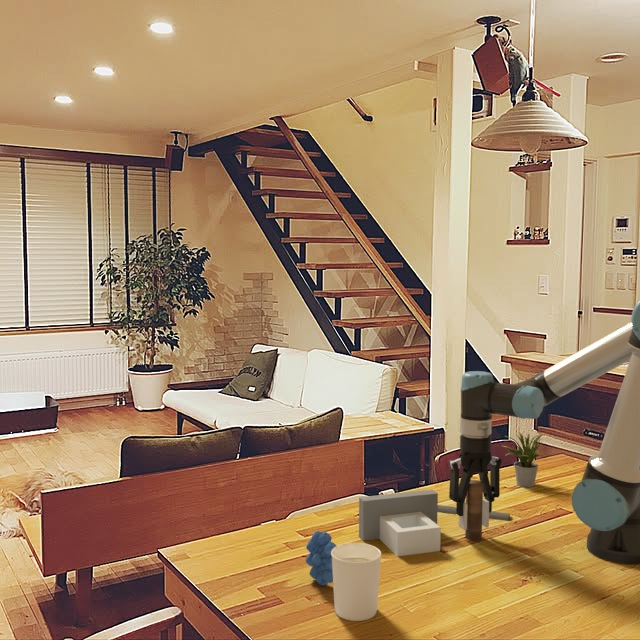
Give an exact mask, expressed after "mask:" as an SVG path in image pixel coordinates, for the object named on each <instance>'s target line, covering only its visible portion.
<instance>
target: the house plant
mask: <svg viewBox="0 0 640 640" xmlns="http://www.w3.org/2000/svg"><path fill="white" fill-rule="evenodd" d="M518 434H519V435H518ZM518 434H516V436H517V438H518V440H519V441H520V443H521V445H522V447H521V446H520V444H519V442H517V441H516V440H515V439H514V438H512V437H510V436H507V435H505V437H506V438H509V439H510V440H511V443H513V444H514V445H515V446H516V447H517V449H515V448H514V447H513V448H512V447H511V446H507V445H500V447H502V448H503V449H504V450H506V451H508V452H507V453H505V455H504V457H506V456H510V455H513V456H514V457H516V458H517V459H518V461H515V462H514V463H513V466H514V473H515V480H516V485H517V486H519V487H523V488H533V487H534V486H535V483H536V478H537V473H538V468H539V464H537V463H535V462H533V461H534V460H535V459H536V458H538V457H540V456H541V457H542V456H544V457H546V454H545V455H544V454H538V453H541V452H540V451H539V450H538V449H539V447H540V446H542V445H543V444H542V443H543V441H542V442H541V440H542V436H544V435H545V433H541V434H539V435H535V436H533V437H532V439H531V440H530V433H528V434H527V437H526V436H523V433H521V431H518ZM540 442H541V443H540Z"/></svg>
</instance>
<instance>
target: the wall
mask: <svg viewBox="0 0 640 640" xmlns="http://www.w3.org/2000/svg"><path fill="white" fill-rule="evenodd" d="M438 496H439V492H436V491H435V490H433V489H428V490H416V491H408V492H398V493H397V492H396V493H388V494H378V495H369V496H360V497H358V537H359V538H360V539H361V541H363V542H365V541H372V540H373V541H374V540H380V516H387V515H396V514H405V513H414V512H422V513H423V514H424V515H426V516H427V517H428V518H429V519H431V520H432V521H433V522H434V523H436V524H437V525H438V512H437V510H438V505H439V503H438V502H439V499H438V498H439V497H438Z"/></svg>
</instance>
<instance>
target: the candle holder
mask: <svg viewBox="0 0 640 640" xmlns="http://www.w3.org/2000/svg"><path fill="white" fill-rule="evenodd" d="M331 556H332V572H333V582H332V587H333V602H334V603H333V604H334V611H335V612H334V613H335V614H336V615H337V616H338V617H339V618H341V619H343V620H345V621H352V622H360V621H367V620H370V619H372V618H374V617H375V616H376V615H377V612H378V604H379V601H378V600H379V587H380V573H381V559H382V551H381V550H380V548H378V547H376V546H374V545H372V544H369V543H364V542H346V543H342V544H338V545H336V547H335V548H333V549H332V551H331Z"/></svg>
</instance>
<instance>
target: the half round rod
mask: <svg viewBox="0 0 640 640" xmlns="http://www.w3.org/2000/svg"><path fill="white" fill-rule="evenodd" d="M437 513H442V514H449V515H450V514H452V515H456V514H457V513H456V506H450V505H442V504H438V510H437ZM510 514H511V513H507V512H500V511H493V510H492V511H491V513H489V520H490V519H491V520H497V521H505V522H507V521H509V517H510Z"/></svg>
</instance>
